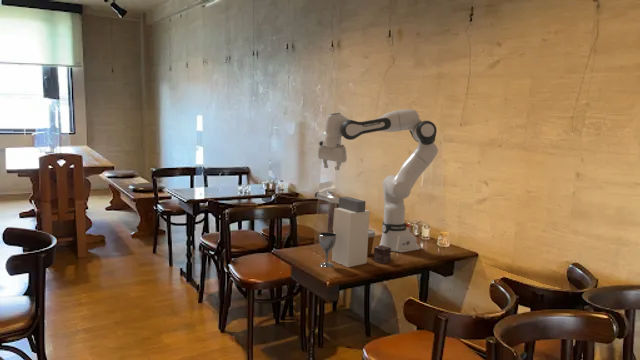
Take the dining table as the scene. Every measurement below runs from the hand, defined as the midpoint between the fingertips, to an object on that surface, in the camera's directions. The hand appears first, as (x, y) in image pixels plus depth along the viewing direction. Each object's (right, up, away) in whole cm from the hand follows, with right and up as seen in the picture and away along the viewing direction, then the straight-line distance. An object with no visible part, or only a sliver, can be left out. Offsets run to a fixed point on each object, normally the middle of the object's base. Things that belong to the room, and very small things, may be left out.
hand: (331, 169), depth 269 cm
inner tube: (-1, -17, -18) cm, 25 cm away
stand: (+8, -46, -26) cm, 53 cm away
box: (+24, -46, -24) cm, 57 cm away
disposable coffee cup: (+17, -44, -12) cm, 49 cm away
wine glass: (-3, -47, -33) cm, 57 cm away
